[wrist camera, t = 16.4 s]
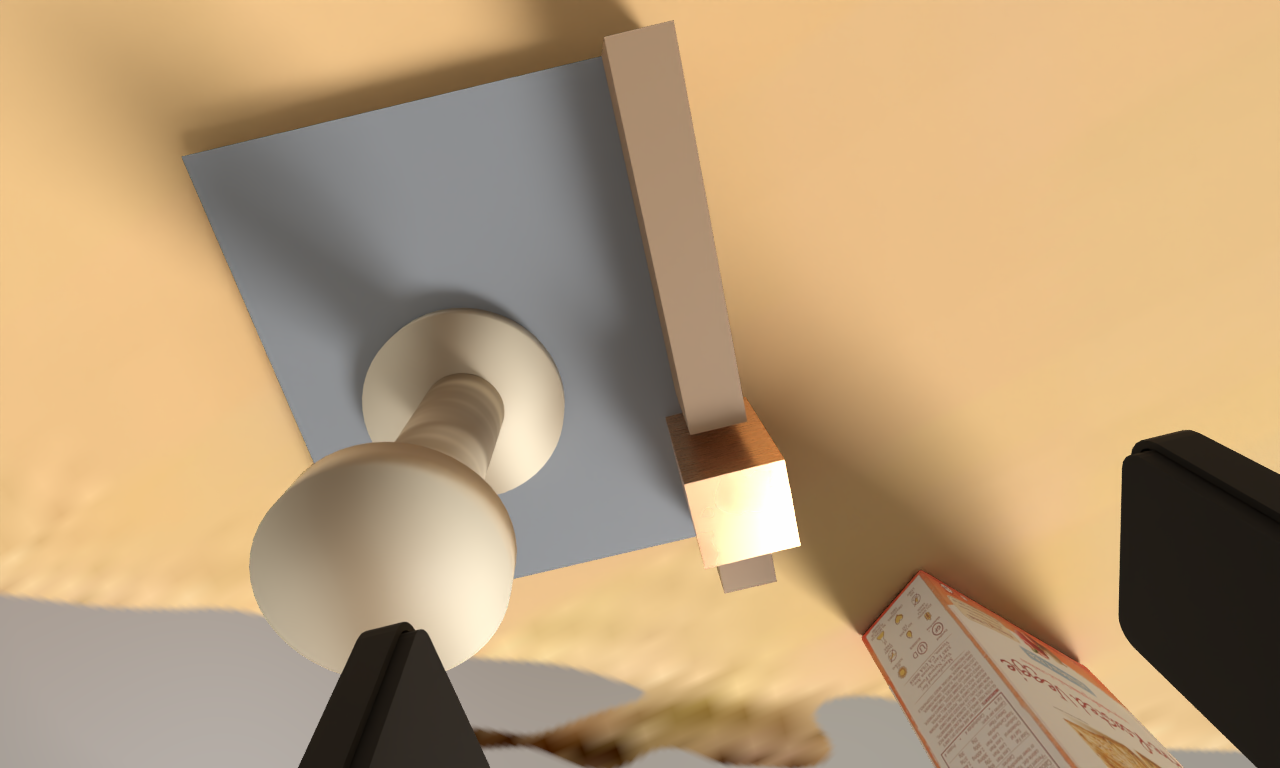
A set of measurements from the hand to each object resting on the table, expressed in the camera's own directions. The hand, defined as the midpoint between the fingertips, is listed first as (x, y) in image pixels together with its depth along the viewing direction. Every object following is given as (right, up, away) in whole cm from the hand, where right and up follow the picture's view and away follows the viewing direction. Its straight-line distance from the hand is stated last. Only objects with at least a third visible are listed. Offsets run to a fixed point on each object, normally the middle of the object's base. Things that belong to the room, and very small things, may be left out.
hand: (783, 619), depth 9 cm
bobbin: (-10, +2, +23) cm, 25 cm away
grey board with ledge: (-8, +5, +24) cm, 26 cm away
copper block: (+2, 0, +24) cm, 24 cm away
